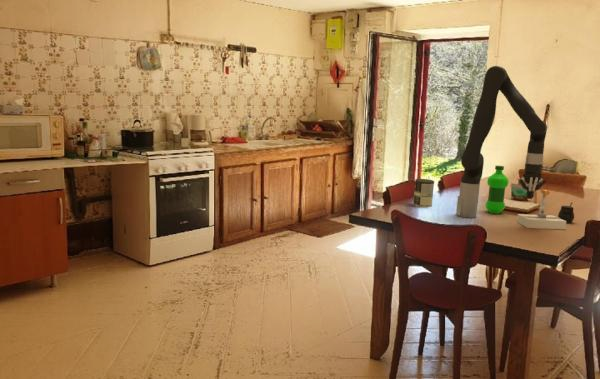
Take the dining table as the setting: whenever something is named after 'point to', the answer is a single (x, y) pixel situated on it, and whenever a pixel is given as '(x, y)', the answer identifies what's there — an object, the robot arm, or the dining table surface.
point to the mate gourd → (566, 213)
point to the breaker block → (541, 221)
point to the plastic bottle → (496, 191)
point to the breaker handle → (543, 203)
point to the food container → (518, 193)
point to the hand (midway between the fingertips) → (529, 198)
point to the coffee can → (423, 192)
